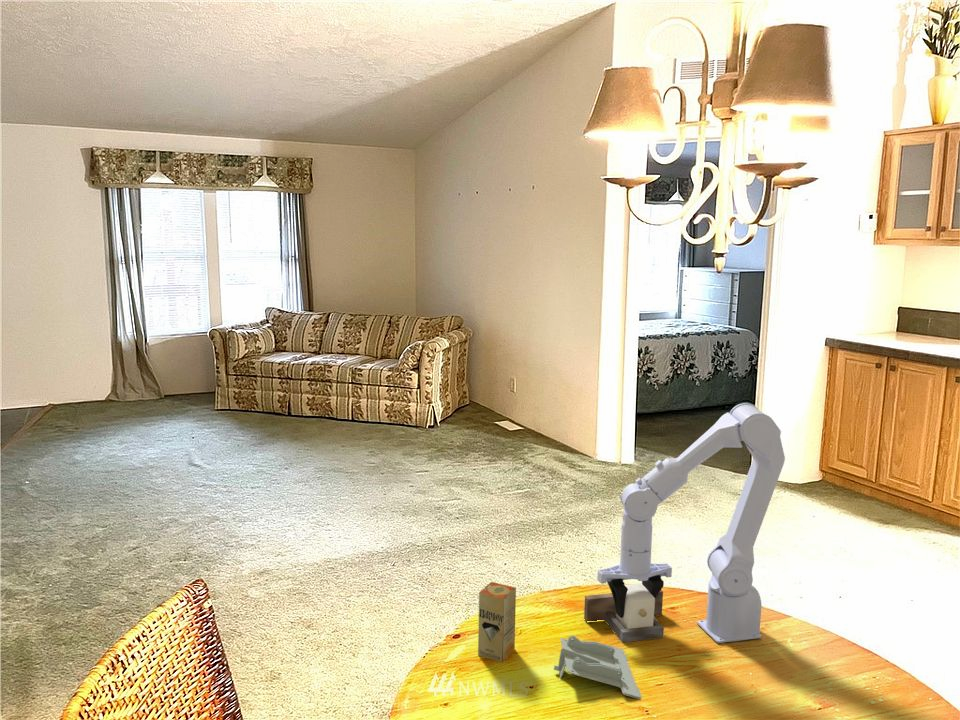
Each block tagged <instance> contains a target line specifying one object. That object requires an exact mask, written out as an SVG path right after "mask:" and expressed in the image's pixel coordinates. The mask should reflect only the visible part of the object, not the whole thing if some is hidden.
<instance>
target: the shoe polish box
mask: <svg viewBox="0 0 960 720" xmlns="http://www.w3.org/2000/svg"><path fill="white" fill-rule="evenodd" d="M516 598H517V587H515V586H510V585H506V584H502V583H498V582H494V581H491V582H490V583H488V584H487V585H486V586H485V587H483V588H482V589H481V590H480V591H479V592H478V632H477V633H478V636H477V637H478V639H477V640H478V645H477V649H478V650H477V653H478V654H477V656H480V657H483V658H486V659H490V660H494V661H497V662H500V663H504V662H505V661H506V660H507V659H508V658H509V657H510V655H511V654H512V653H513V652H514V651H515V649H516V608H517V607H516V604H517V603H516V601H517V599H516Z"/></svg>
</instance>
